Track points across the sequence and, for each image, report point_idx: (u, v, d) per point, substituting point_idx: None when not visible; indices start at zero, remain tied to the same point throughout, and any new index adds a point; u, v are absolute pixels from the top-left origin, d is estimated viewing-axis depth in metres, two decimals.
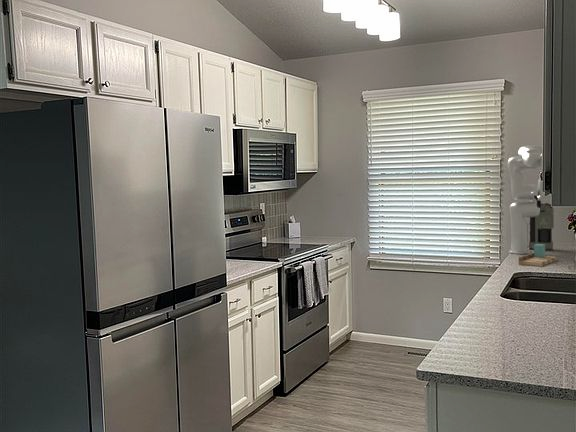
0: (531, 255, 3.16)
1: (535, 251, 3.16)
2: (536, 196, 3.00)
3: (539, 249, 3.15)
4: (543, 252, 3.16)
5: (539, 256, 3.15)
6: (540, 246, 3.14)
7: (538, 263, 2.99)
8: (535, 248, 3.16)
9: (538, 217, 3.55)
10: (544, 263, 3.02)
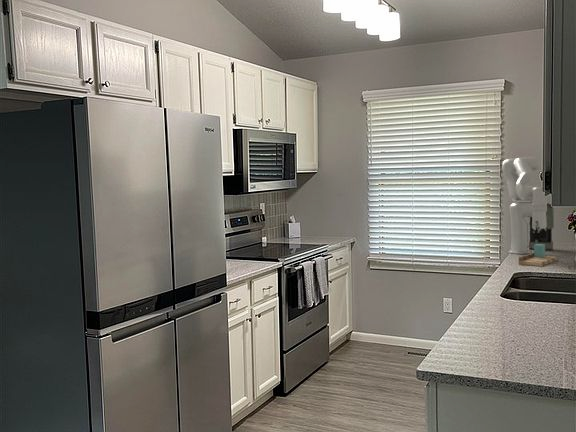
0: (531, 255, 3.16)
1: (535, 251, 3.16)
2: None
3: (539, 249, 3.15)
4: (543, 252, 3.16)
5: (539, 256, 3.15)
6: (540, 246, 3.14)
7: (538, 263, 2.99)
8: (535, 248, 3.16)
9: None
10: (544, 263, 3.02)
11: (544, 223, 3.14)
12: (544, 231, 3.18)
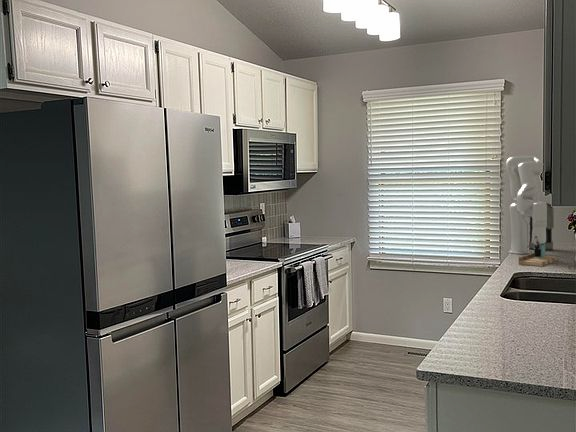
0: (531, 255, 3.16)
1: None
2: None
3: None
4: (543, 252, 3.16)
5: None
6: (540, 246, 3.14)
7: (538, 263, 2.99)
8: None
9: None
10: (544, 263, 3.02)
11: (544, 238, 3.15)
12: None
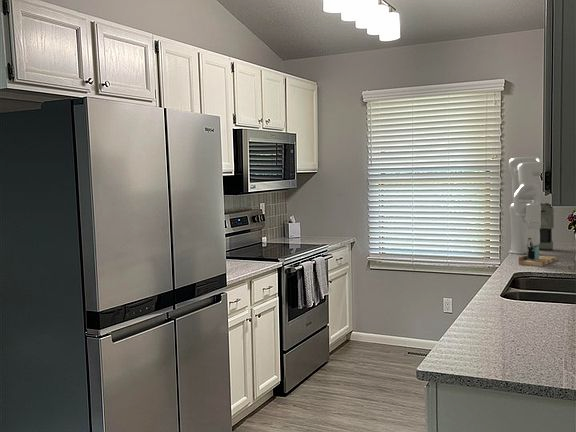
0: None
1: None
2: (531, 247, 3.06)
3: None
4: (537, 254, 3.09)
5: None
6: (534, 248, 3.07)
7: (538, 263, 2.99)
8: None
9: None
10: (544, 263, 3.02)
11: (537, 240, 3.08)
12: None
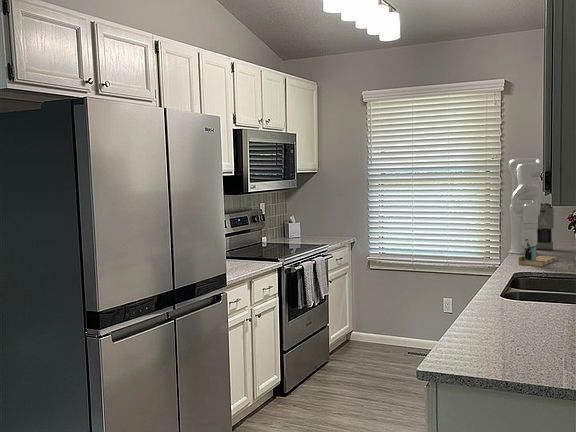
0: None
1: None
2: (528, 248, 3.03)
3: None
4: (534, 256, 3.06)
5: None
6: (531, 249, 3.04)
7: (538, 263, 2.99)
8: None
9: (538, 217, 3.55)
10: (544, 263, 3.02)
11: (535, 241, 3.05)
12: None
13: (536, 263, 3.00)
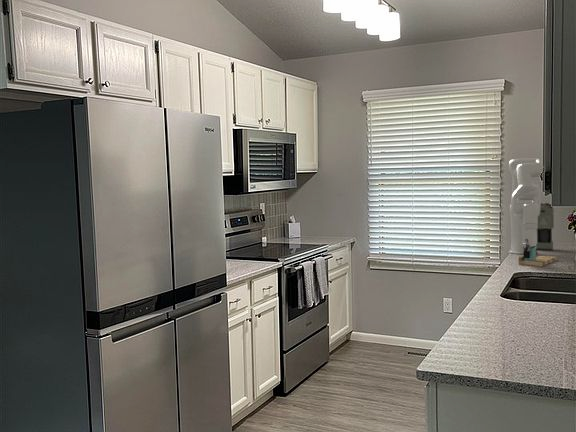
0: None
1: None
2: None
3: (530, 252, 3.05)
4: (534, 256, 3.06)
5: (530, 259, 3.05)
6: (531, 249, 3.04)
7: (538, 263, 2.99)
8: None
9: (538, 217, 3.55)
10: (544, 263, 3.02)
11: (534, 241, 3.05)
12: None
13: (536, 263, 3.00)
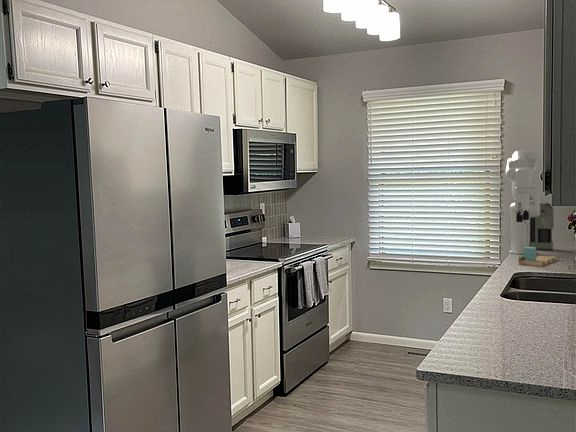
0: None
1: (526, 254, 3.06)
2: (519, 211, 3.06)
3: (530, 252, 3.05)
4: (534, 256, 3.06)
5: (530, 259, 3.05)
6: (531, 249, 3.04)
7: (538, 263, 2.99)
8: (526, 251, 3.06)
9: (538, 217, 3.55)
10: (544, 263, 3.02)
11: (527, 205, 3.10)
12: (527, 213, 3.15)
13: (536, 263, 3.00)
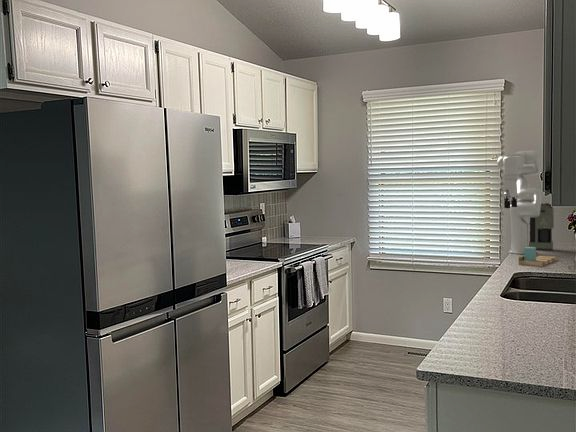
0: None
1: (526, 254, 3.06)
2: None
3: (530, 252, 3.05)
4: (534, 256, 3.06)
5: (530, 259, 3.05)
6: (531, 249, 3.04)
7: (538, 263, 2.99)
8: (526, 251, 3.06)
9: (538, 217, 3.55)
10: (544, 263, 3.02)
11: (515, 192, 3.20)
12: (515, 200, 3.24)
13: (536, 263, 3.00)
